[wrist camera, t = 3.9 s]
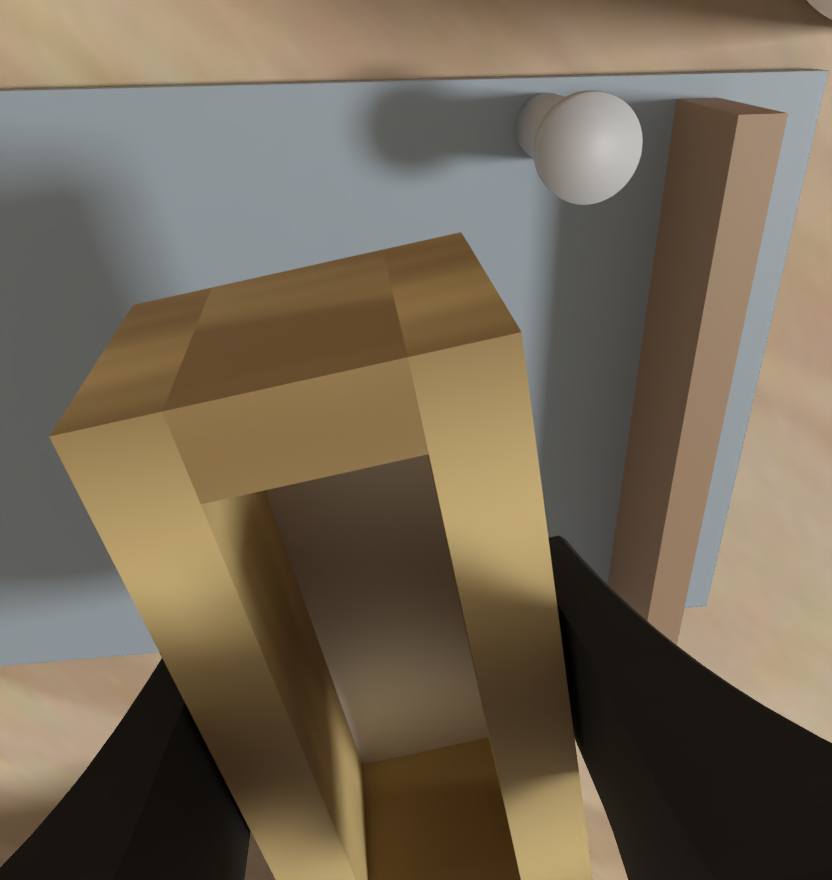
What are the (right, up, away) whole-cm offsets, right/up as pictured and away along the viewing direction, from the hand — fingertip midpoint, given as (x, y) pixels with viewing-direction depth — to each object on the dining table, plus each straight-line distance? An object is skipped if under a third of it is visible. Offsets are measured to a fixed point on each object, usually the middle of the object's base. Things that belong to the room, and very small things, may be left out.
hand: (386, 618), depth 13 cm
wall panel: (-3, +4, +8) cm, 9 cm away
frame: (0, +1, +1) cm, 2 cm away
